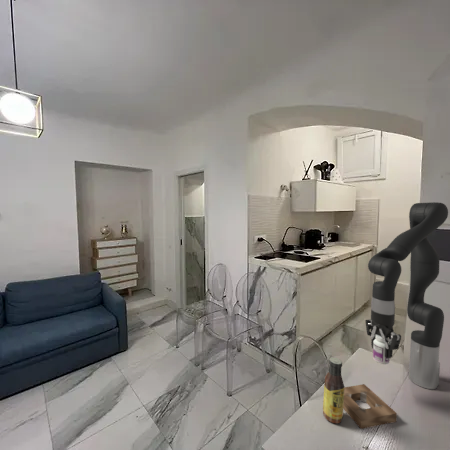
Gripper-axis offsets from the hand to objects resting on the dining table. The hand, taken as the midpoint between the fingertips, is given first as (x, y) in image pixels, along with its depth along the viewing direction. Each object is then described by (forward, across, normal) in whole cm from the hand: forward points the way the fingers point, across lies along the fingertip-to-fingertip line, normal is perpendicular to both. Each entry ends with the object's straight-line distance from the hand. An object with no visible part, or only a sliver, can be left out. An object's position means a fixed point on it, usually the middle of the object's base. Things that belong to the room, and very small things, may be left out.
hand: (381, 352), depth 91 cm
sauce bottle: (+17, -5, +24) cm, 30 cm away
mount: (+17, -4, +12) cm, 21 cm away
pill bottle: (+3, 0, 0) cm, 3 cm away
